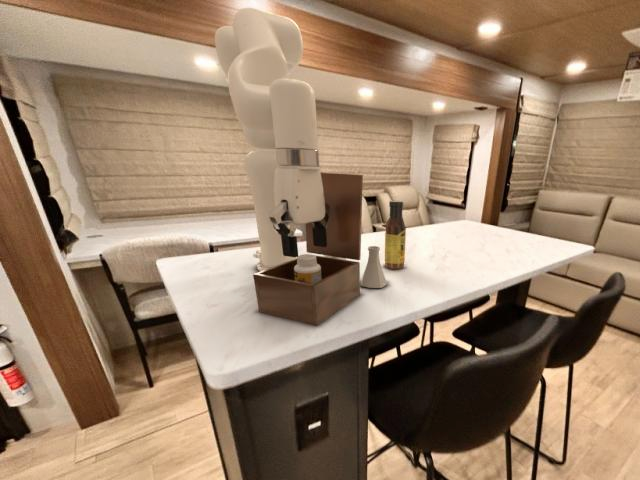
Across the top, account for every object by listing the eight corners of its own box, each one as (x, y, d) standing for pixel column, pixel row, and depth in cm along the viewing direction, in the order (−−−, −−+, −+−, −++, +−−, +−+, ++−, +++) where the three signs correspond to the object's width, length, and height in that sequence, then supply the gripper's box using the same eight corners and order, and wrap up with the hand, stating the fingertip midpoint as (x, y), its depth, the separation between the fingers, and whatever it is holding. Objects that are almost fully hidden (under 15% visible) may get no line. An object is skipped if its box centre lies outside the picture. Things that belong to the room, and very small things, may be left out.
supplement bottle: (292, 300, 69) (287, 256, 64) (313, 294, 73) (309, 251, 68) (306, 308, 65) (302, 261, 61) (328, 301, 69) (325, 256, 65)
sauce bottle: (404, 270, 94) (407, 202, 87) (383, 269, 94) (385, 201, 86) (404, 264, 100) (407, 200, 93) (385, 263, 100) (386, 199, 93)
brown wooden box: (317, 325, 60) (314, 286, 57) (258, 311, 65) (252, 274, 62) (360, 294, 75) (359, 262, 72) (310, 285, 80) (307, 254, 77)
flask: (383, 290, 79) (384, 252, 75) (356, 287, 80) (355, 249, 76) (389, 281, 85) (390, 245, 81) (364, 278, 86) (364, 243, 82)
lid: (361, 174, 66) (370, 176, 70) (304, 171, 70) (316, 173, 74) (358, 260, 71) (367, 257, 76) (306, 252, 76) (317, 249, 80)
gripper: (310, 162, 66) (316, 241, 73) (246, 158, 51) (261, 258, 58) (340, 162, 64) (343, 244, 70) (282, 159, 49) (293, 263, 55)
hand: (306, 251), depth 64 cm, fingers open, 9 cm apart
